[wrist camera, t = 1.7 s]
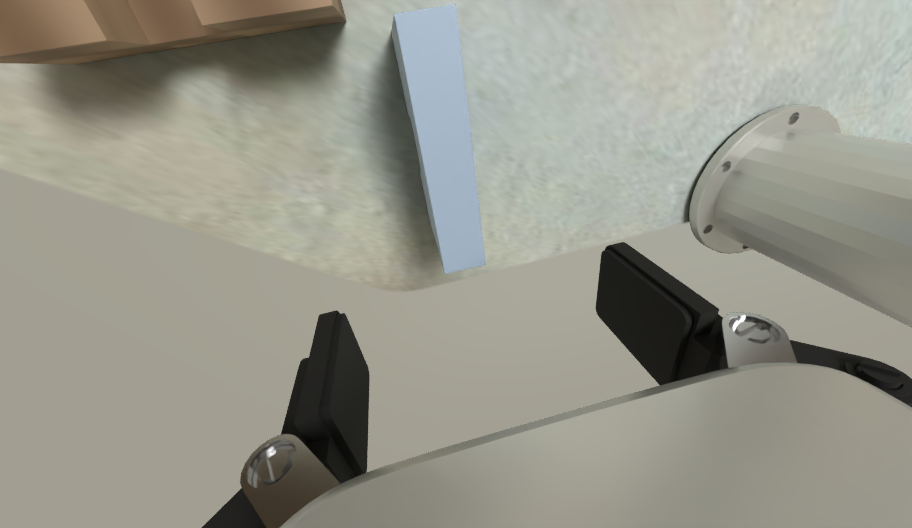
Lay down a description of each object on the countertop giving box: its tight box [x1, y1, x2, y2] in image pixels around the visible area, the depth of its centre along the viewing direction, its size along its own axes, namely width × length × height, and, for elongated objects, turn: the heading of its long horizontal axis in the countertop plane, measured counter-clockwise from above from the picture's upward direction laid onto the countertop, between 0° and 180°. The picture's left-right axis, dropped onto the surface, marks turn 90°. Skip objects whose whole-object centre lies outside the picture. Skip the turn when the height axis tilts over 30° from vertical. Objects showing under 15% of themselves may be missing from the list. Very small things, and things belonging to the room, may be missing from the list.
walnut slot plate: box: [0, 0, 346, 64], centre depth 15 cm, size 14×2×6 cm, turn 98°
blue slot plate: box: [391, 4, 486, 274], centre depth 19 cm, size 12×2×8 cm, turn 8°
